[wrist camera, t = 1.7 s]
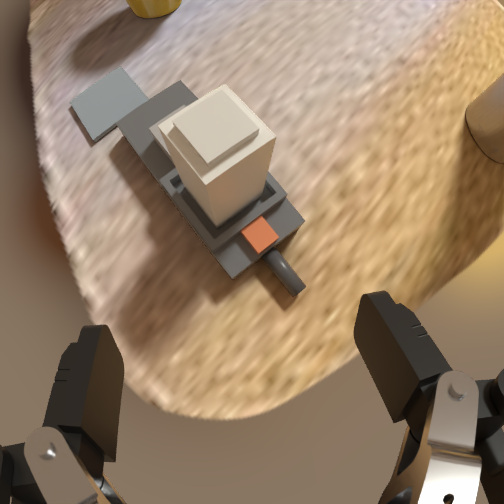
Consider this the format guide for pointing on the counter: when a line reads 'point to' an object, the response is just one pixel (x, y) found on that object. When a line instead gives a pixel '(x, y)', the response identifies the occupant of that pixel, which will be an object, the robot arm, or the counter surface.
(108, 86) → the pad
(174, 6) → the plant pot
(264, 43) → the counter surface
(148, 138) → the power strip
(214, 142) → the block
